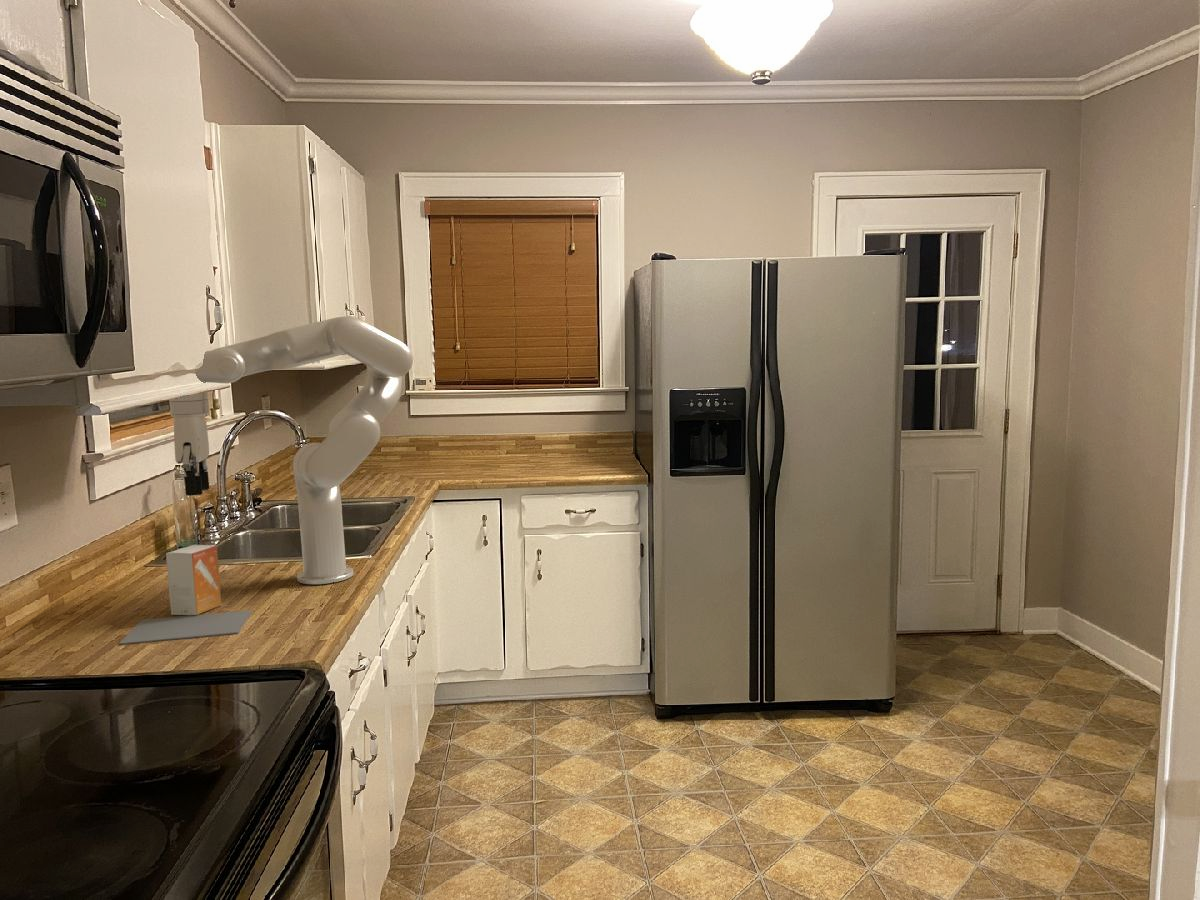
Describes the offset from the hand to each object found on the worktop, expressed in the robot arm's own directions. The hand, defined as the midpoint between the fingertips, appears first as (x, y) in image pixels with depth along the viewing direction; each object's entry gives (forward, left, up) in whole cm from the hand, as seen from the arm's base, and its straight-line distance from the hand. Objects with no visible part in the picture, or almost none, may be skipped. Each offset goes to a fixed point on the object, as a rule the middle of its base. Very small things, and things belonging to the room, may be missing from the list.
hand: (197, 491), depth 190 cm
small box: (+10, 0, -24) cm, 26 cm away
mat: (+21, +1, -24) cm, 32 cm away
